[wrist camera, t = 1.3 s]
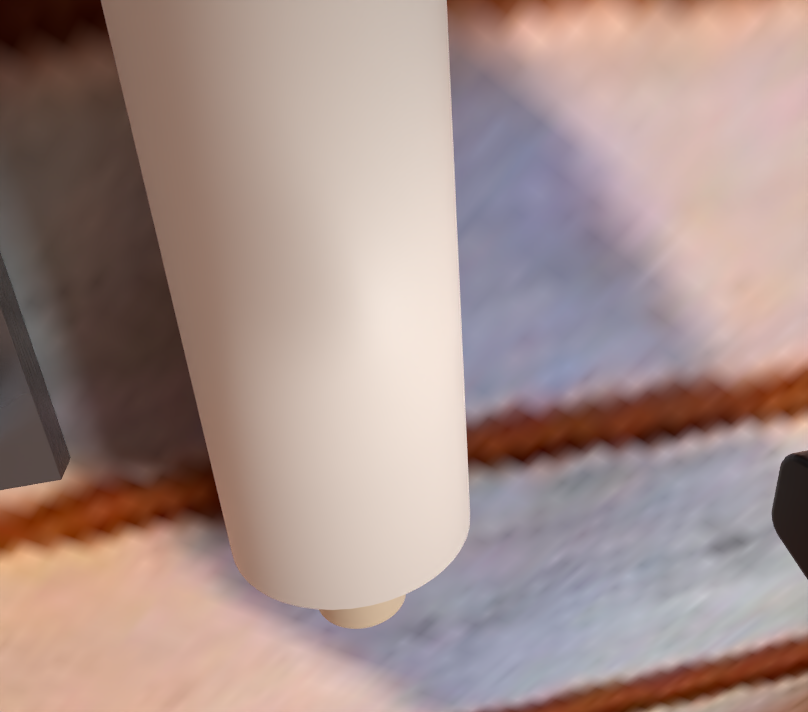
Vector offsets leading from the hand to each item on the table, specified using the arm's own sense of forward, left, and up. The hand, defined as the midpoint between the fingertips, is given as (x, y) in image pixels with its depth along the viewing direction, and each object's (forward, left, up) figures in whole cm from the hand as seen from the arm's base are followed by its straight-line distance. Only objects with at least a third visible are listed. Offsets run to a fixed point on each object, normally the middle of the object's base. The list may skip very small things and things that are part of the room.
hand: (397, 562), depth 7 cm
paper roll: (0, 0, -12) cm, 12 cm away
